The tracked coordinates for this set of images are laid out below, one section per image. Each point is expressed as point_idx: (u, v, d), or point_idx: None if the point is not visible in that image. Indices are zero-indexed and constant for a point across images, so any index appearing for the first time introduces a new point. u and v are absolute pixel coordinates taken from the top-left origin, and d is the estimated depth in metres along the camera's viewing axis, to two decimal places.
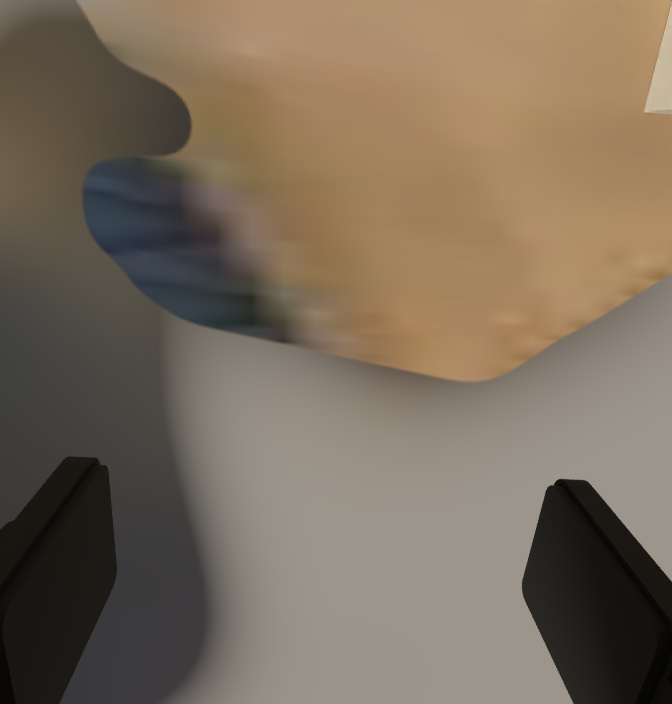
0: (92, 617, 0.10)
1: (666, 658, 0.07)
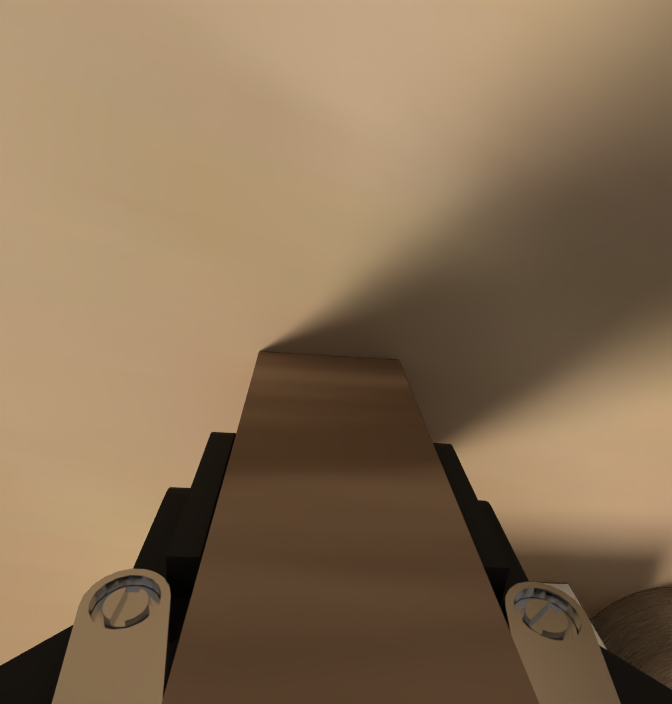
0: None
1: None
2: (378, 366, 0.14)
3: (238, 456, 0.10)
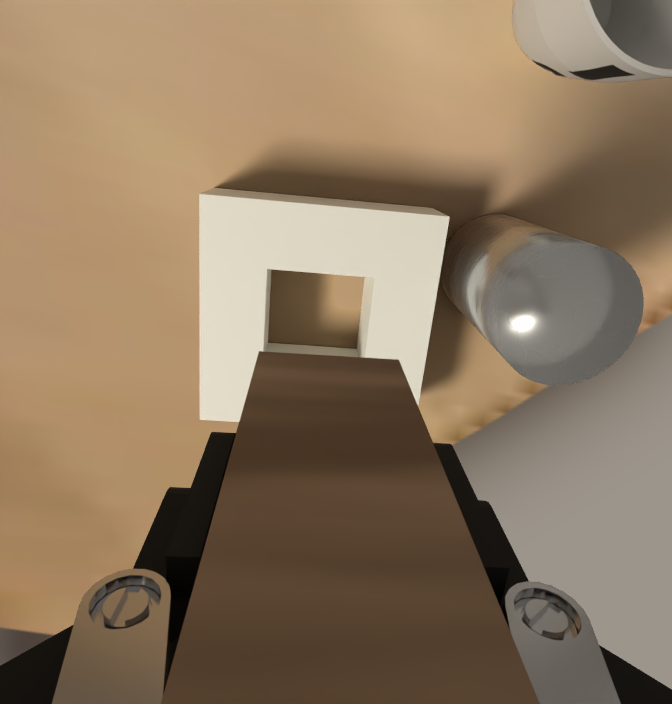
0: None
1: None
2: (378, 366, 0.14)
3: (238, 456, 0.10)
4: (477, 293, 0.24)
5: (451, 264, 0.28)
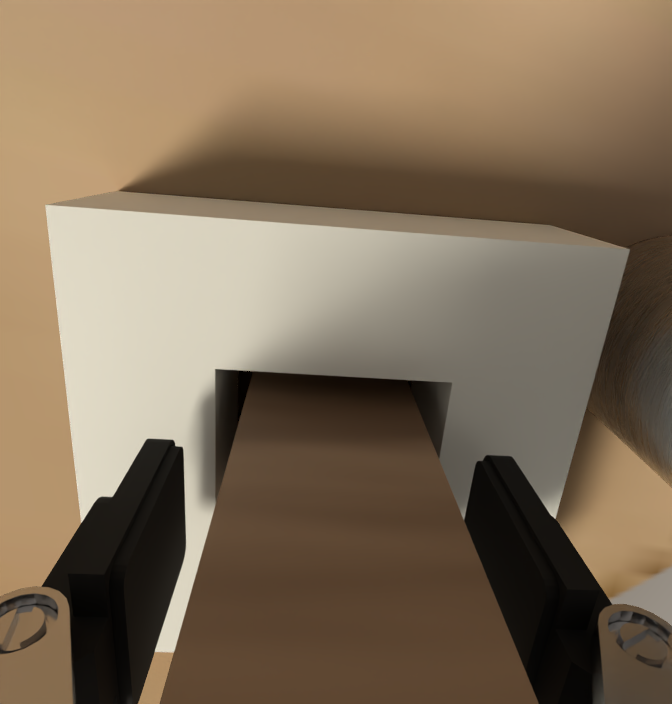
0: (171, 587, 0.11)
1: (554, 609, 0.08)
2: None
3: (245, 427, 0.11)
4: None
5: None
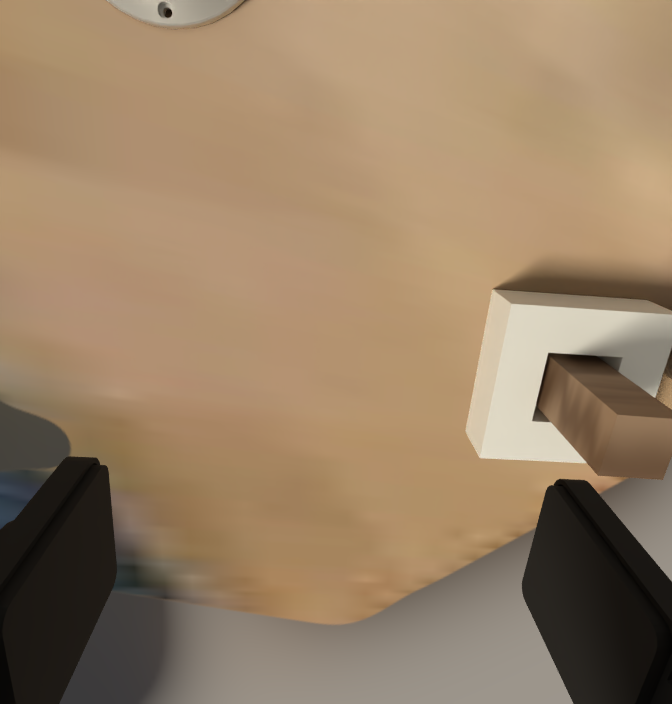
0: (92, 617, 0.10)
1: (666, 658, 0.07)
2: None
3: (567, 369, 0.35)
4: None
5: None
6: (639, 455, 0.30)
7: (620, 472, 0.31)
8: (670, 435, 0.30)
